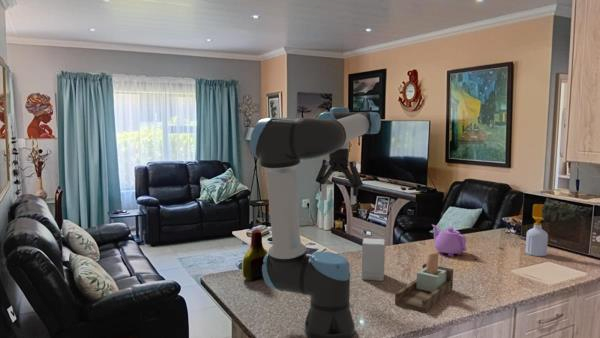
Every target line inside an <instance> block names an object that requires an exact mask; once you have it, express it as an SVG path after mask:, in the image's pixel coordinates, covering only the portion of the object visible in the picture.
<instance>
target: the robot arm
mask: <svg viewBox="0 0 600 338" xmlns="http://www.w3.org/2000/svg"><path fill="white" fill-rule="evenodd" d="M381 125H382V119H381V115H380V113H379V112H376V111H375V112H373V111H364V112H362V111H358V112H357V111H356V112H353V111H352V112H350V109H349V108H348V107H331V108H330V109H329V111H324V112H322V113H319V115H318V116H317V117H316V118H314V117H313V118H310V117H276V116H275V117H268V118H267V117H266V118H262V119H260V120H258V121H257V122H256V123H255V125H254V126H253V129H252V131H251V135H250V139H249V146H250V147H249V148H250V151H251V153H252V155H253V157H255V158H257V159H259V163H260V167H261V168H262V169H264V170H265V173H266V184H267V185H266V186H267V195H268V204H269V205H268V207H269V215H270V216H269V218H270V219H269V220H270V227H271V239H272V241H271V242H272V245H271V246H270V247H269V249H268V250H267V252H268V253H267V254H266V255H265V257H264V260H263V263H264V264H263V265H262V273H263V277H264V278H263V280H264V282H265V284H266V286H268V287H269V288H271V289H273V290H277V291H280V292H290V293H292V294H293V293H294V294H298V295H299V294H300V295H304V296H310V305H309V306H310V307H309V310H308V312H307V315H306V318H305V321H304V333H305V335H306V336H307V337H308V338H353V337H354V335H355V334H356V333H355V332H356V331H355V327H356V326H355V325H356V324H355V322H354V319H353V315H352V312H351V309H350V293H351V292H350V291H351V289H350V286H351V272H350V271H351V268H350V262H349V260H348V259H347V258H346V257H344V256H343V255H341V254H338V253H335V252H331V251H315V252H313V253H312V254H311V255H308V254H307V247H306V246H305V244H303V243H302V242H301V232H300V231H301V230H300V216H299V203H298V202H299V201H298V189H297V174H296V173H297V172H296V169H297V167H298V166H299V165H300V164H301V161H300V160H312V159H317V158H321V157H325V156H326V155H327V156H329V159H327V158H326V159H322V165H321V167H320V169H319V170H318V174H317V176H316V178H315V182H316V183H318V184H319V192H320V193H321V195H320V196H321V197H320V198H321V199H320V201H326V200H327V199H328V197H327V195H328V185H327V181H328V180H329V178H330V177H331V176H332V174H333V173H337V172H338V173H342V174H344V176H345V177H346V179H347V180H348V182H349V184H350V185H351V186H352V187H350V205H351V206H352V205H353V206H354V205H355V204H356V203H357V196H359V187H361V186H363V185H364V183H363V181H362V179H361V175H360V173H359V171H358V168H357V162H356V161H355V160H353V161H350V160H349V158H350V157H349V154H350V153H349V152H350V150H349V146H350V141H352V140H355V139H356V138H359V137H361V136H363V135H374V134H375V135H376V134H379V132H380V130H381ZM328 167H329V168H328ZM349 168H350V169H349Z"/></svg>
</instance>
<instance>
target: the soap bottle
mask: <svg viewBox="0 0 600 338" xmlns="http://www.w3.org/2000/svg"><path fill="white" fill-rule="evenodd" d="M544 206H545V204H543V203H541V204H539V203H534V204H533V205H532V218H533V219H534V220H535V222H533V227H532V228H529V230H527V231H526V239H525V253H526V254H527V255H529V256H534V257H545V256H547V254H548V239H549V234H548V232H547V231H545V230H544V229H543V228H542V223H541V222H542V220H543V221H544V217H543V207H544Z"/></svg>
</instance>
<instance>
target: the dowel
mask: <svg viewBox="0 0 600 338" xmlns="http://www.w3.org/2000/svg"><path fill="white" fill-rule="evenodd" d="M426 253H427V254H426V264H427V269H426V273H429V274H433V275H437V274H438V266H439V253H438V251H437V252H436V251H427V252H426Z"/></svg>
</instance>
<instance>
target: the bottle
mask: <svg viewBox="0 0 600 338" xmlns="http://www.w3.org/2000/svg"><path fill="white" fill-rule="evenodd" d="M250 238H251V239H250V247H249V248H248V250H247V251H246V252H245V253H244V255H243V258H242V262H241V263H242V264H241V270H242V273H241V275H242V276H243V277H244V279H245V280H248V281H255V280H256V281H257V280H259V279H260V280H261V279H264V277H263V273H262V265H263V264H264V263H263V260H264V257H265V255H266V254H267V253H268V250H266V249H265V248H264V246H263V235H262V232H261V229H258V228H257V229H253V230H252V231H251V236H250Z"/></svg>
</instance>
